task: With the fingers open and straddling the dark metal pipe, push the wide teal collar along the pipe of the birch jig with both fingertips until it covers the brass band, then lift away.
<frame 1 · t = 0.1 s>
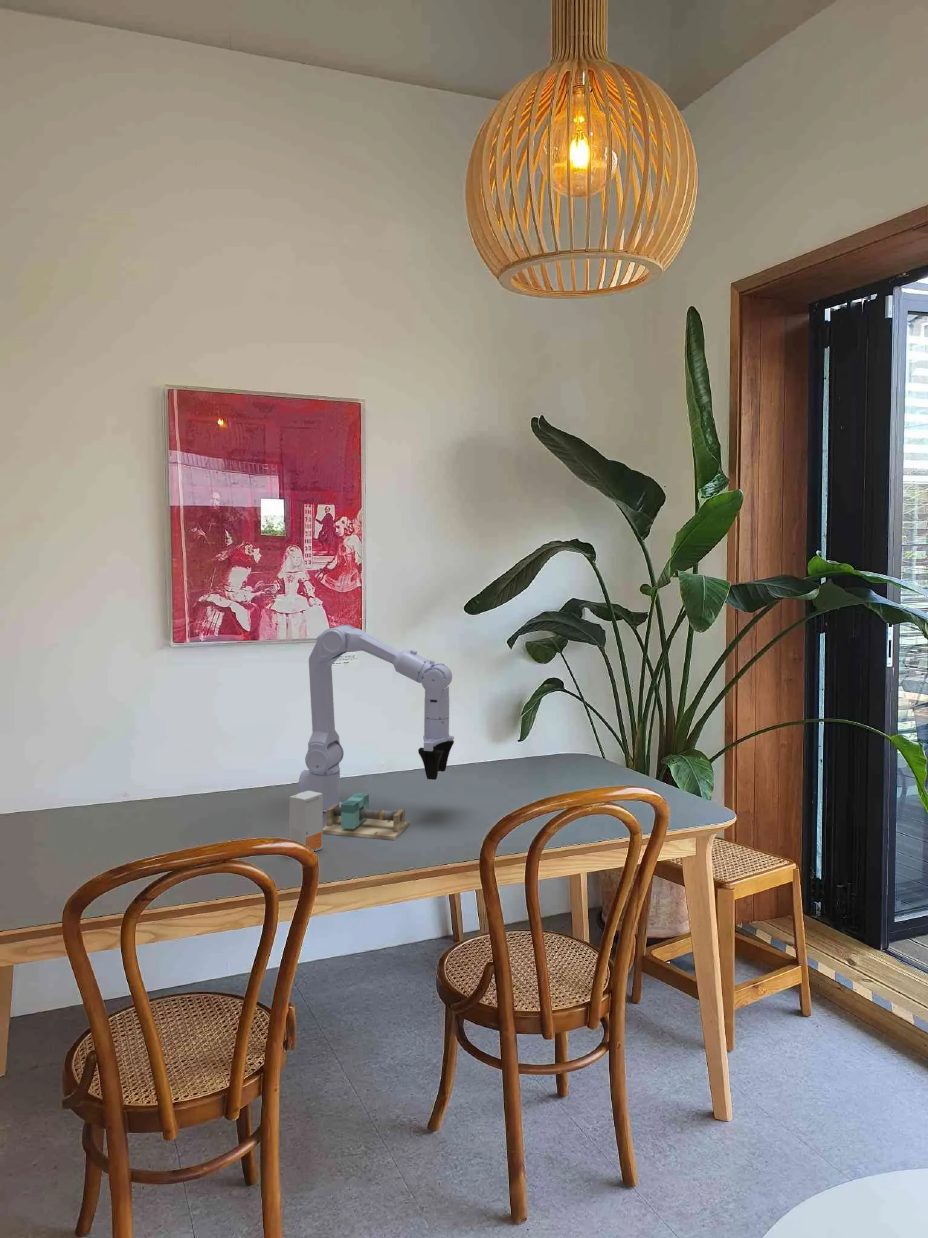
hand: (436, 775, 226), 10 cm above the table, fingers open, 7 cm apart
skincare box: (306, 852, 203), on the table
collar: (355, 810, 218), point 4 cm above the table, slide at 0.0 cm
pipe jig: (365, 829, 218), on the table
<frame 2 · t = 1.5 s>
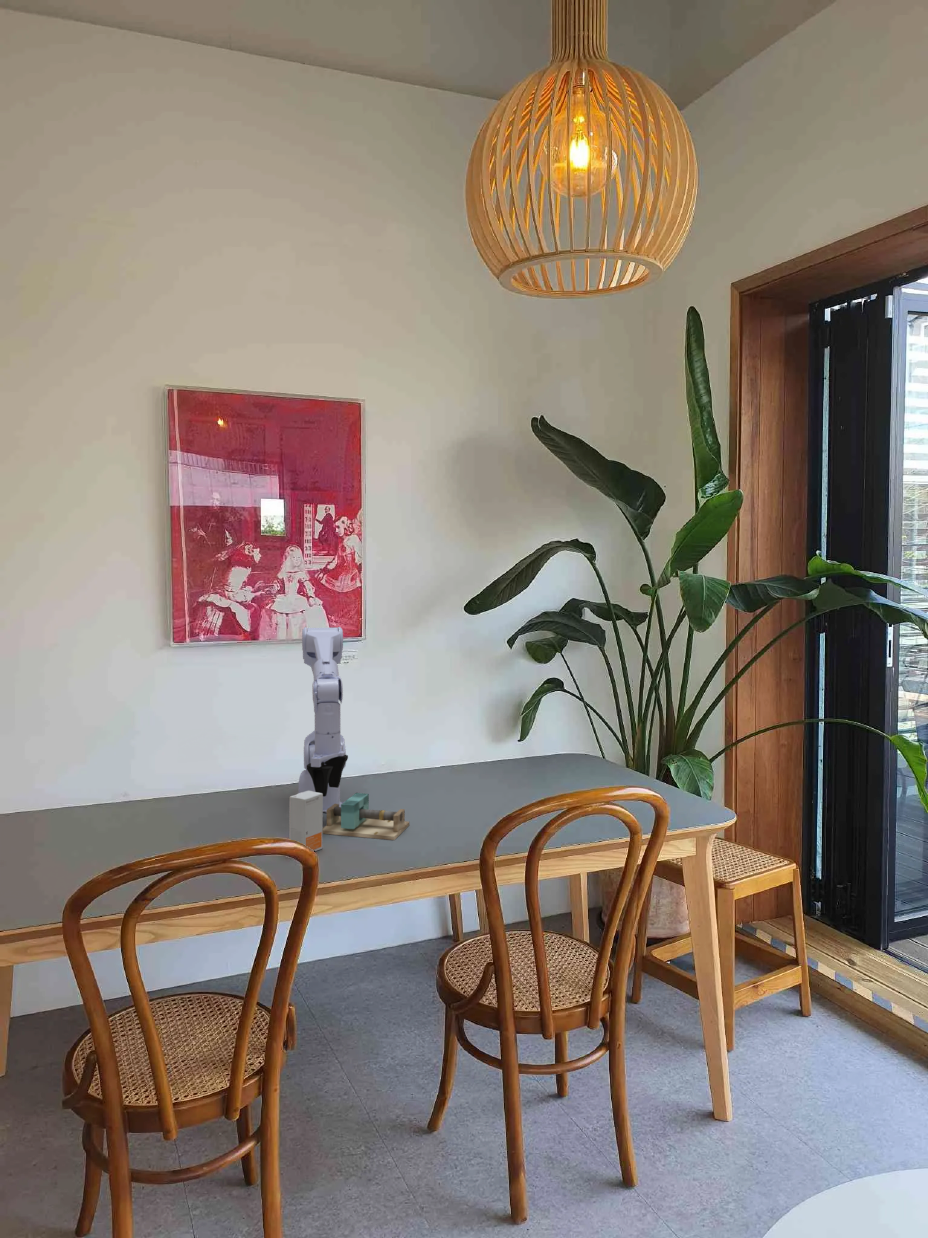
hand: (327, 791, 219), 8 cm above the table, fingers open, 7 cm apart
nothing on the table moved.
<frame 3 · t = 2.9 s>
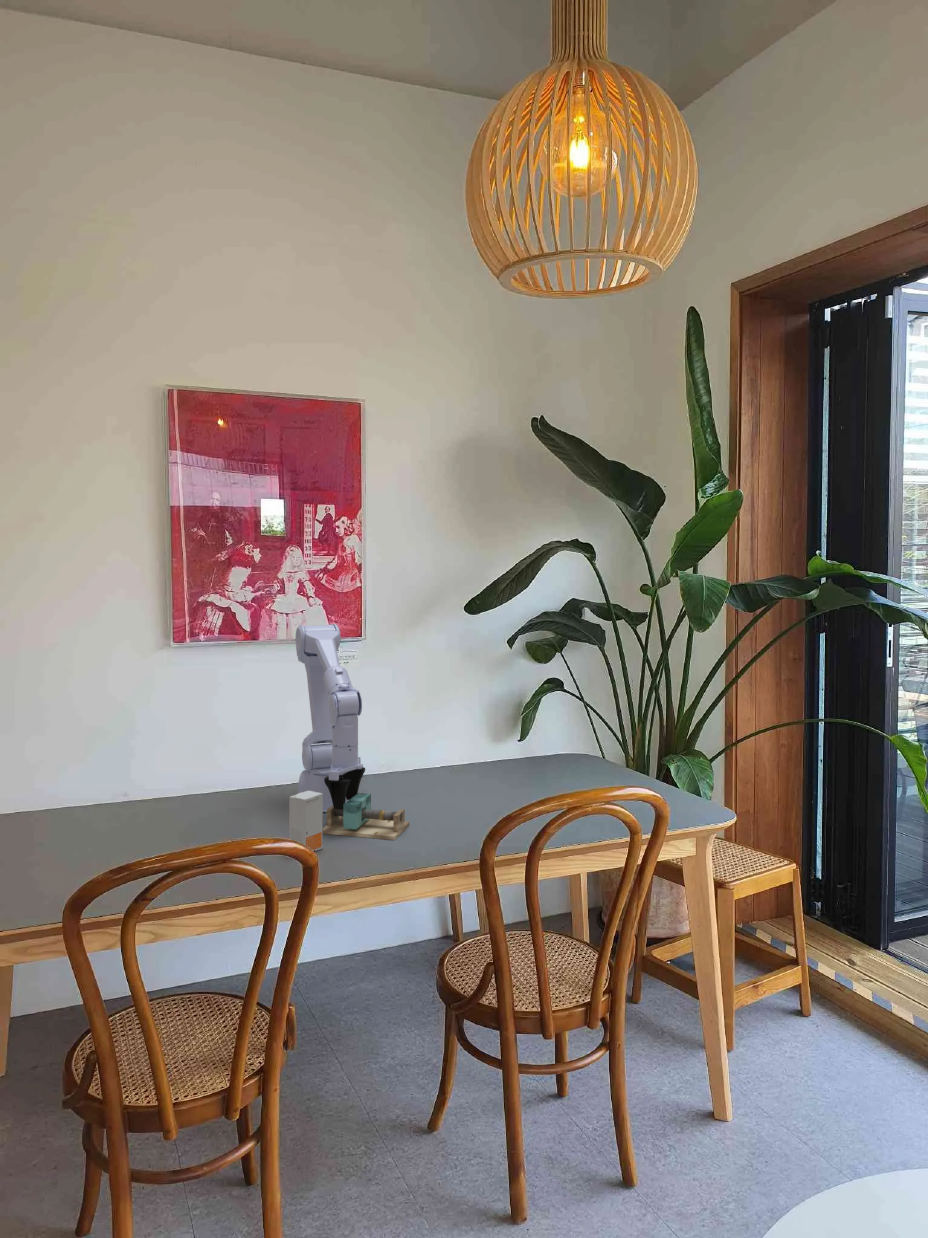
hand: (345, 804, 218), 5 cm above the table, fingers open, 7 cm apart
collar: (357, 810, 218), point 4 cm above the table, slide at 0.6 cm, touching gripper
everything else where it was.
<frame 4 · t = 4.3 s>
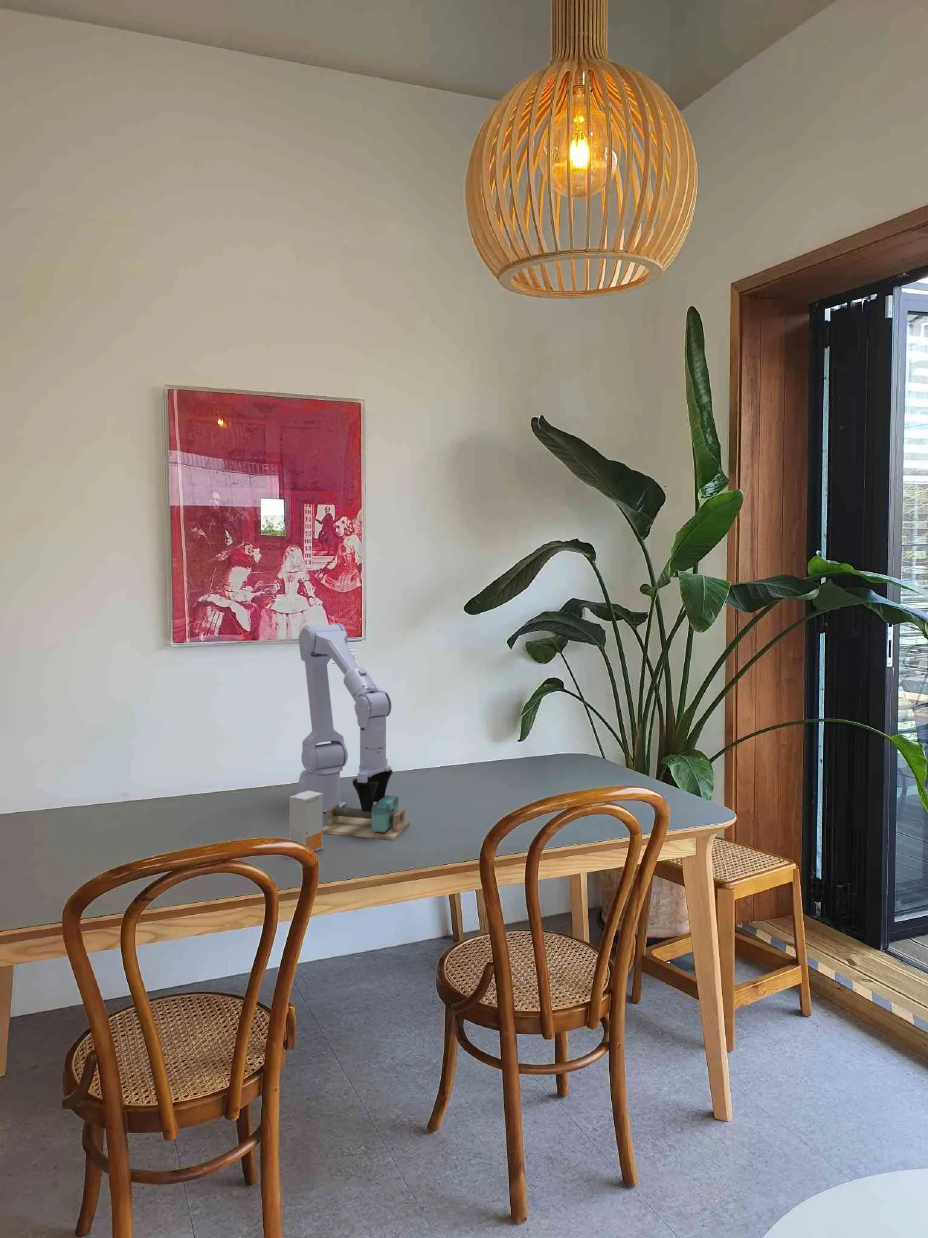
hand: (372, 806, 217), 5 cm above the table
collar: (385, 813, 216), point 4 cm above the table, slide at 7.1 cm, touching gripper
everything else where it was.
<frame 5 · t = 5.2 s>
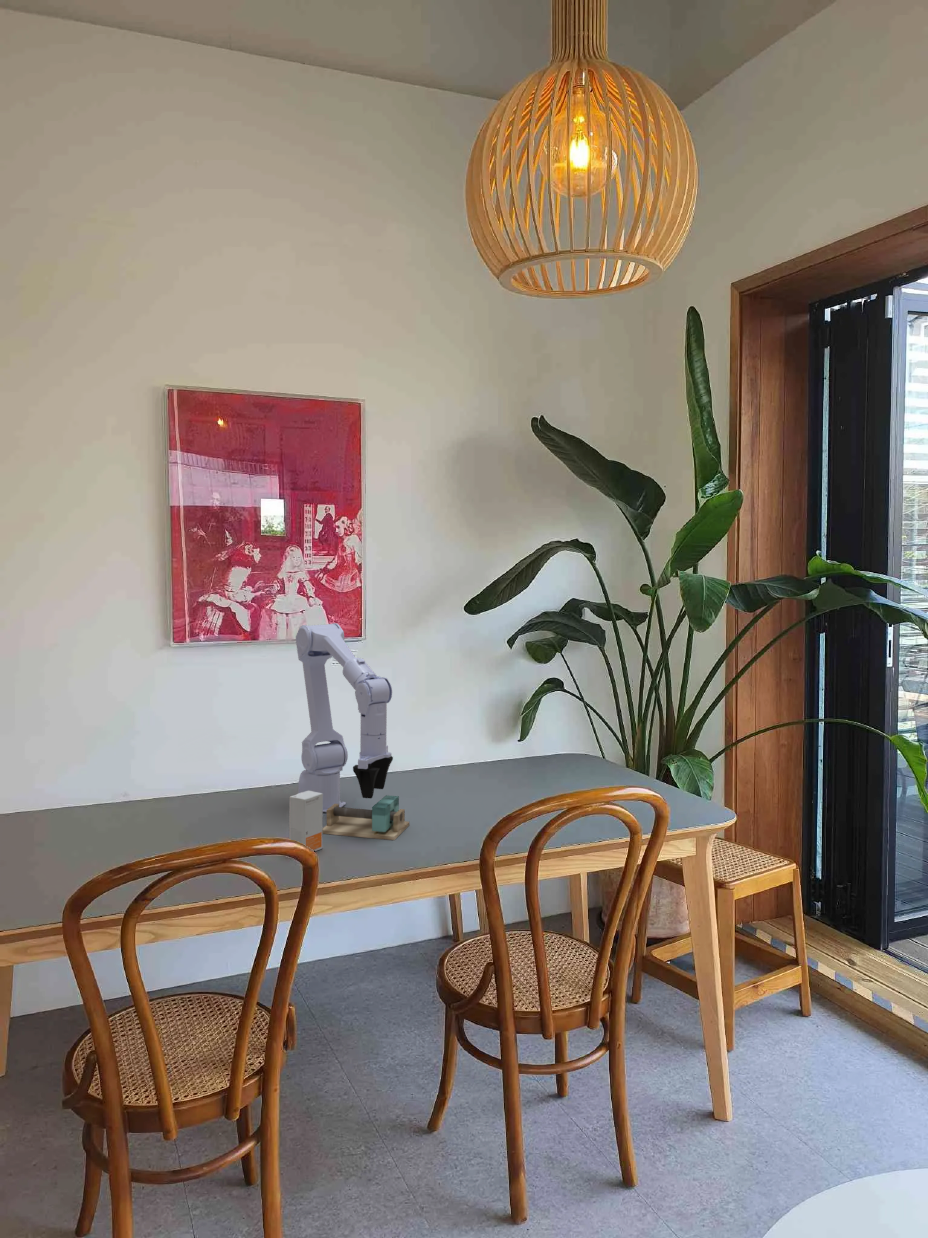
hand: (373, 793, 216), 8 cm above the table, fingers open, 7 cm apart
collar: (385, 813, 216), point 4 cm above the table, slide at 7.2 cm
everything else where it was.
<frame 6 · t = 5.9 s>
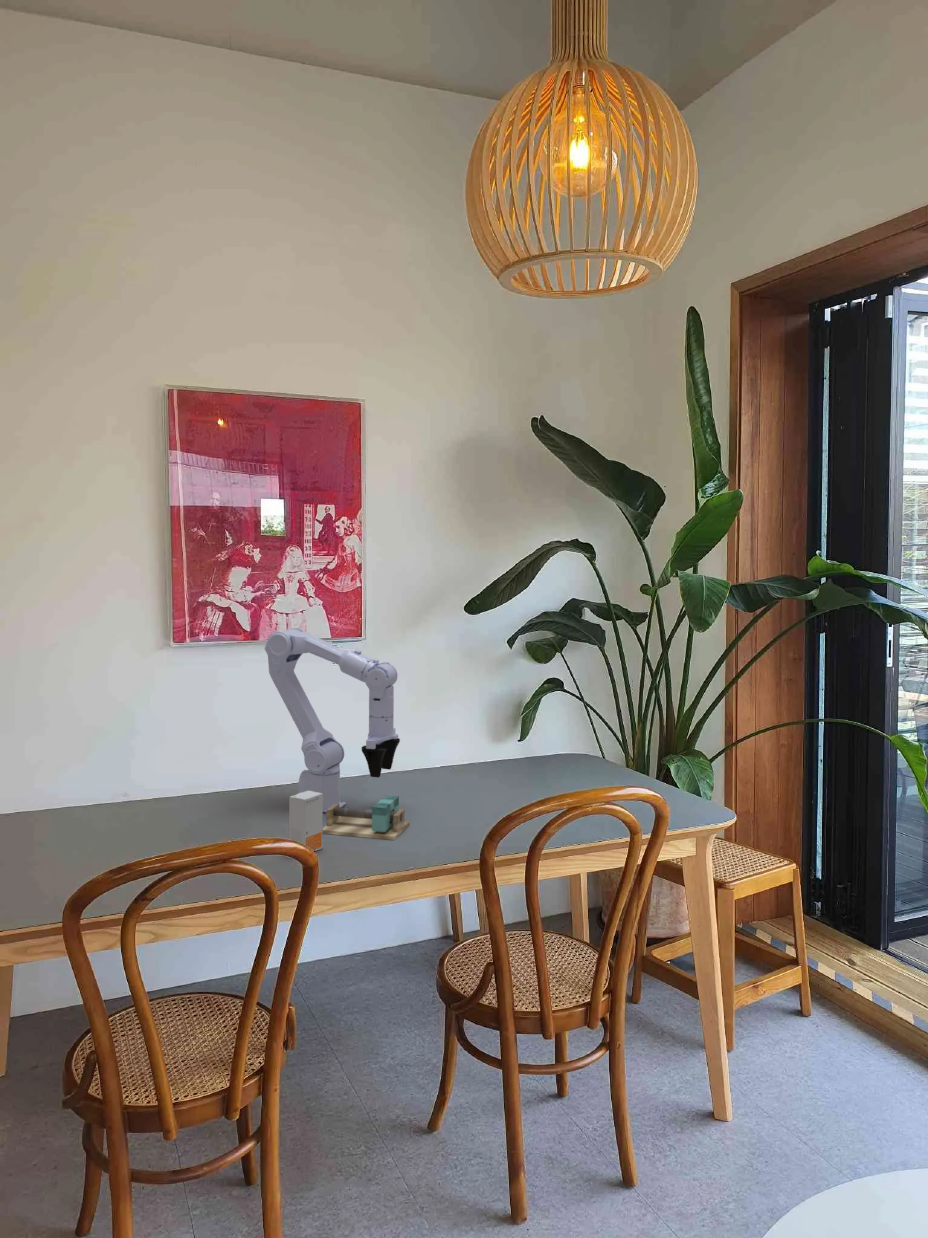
hand: (380, 772, 228), 10 cm above the table, fingers open, 7 cm apart
nothing on the table moved.
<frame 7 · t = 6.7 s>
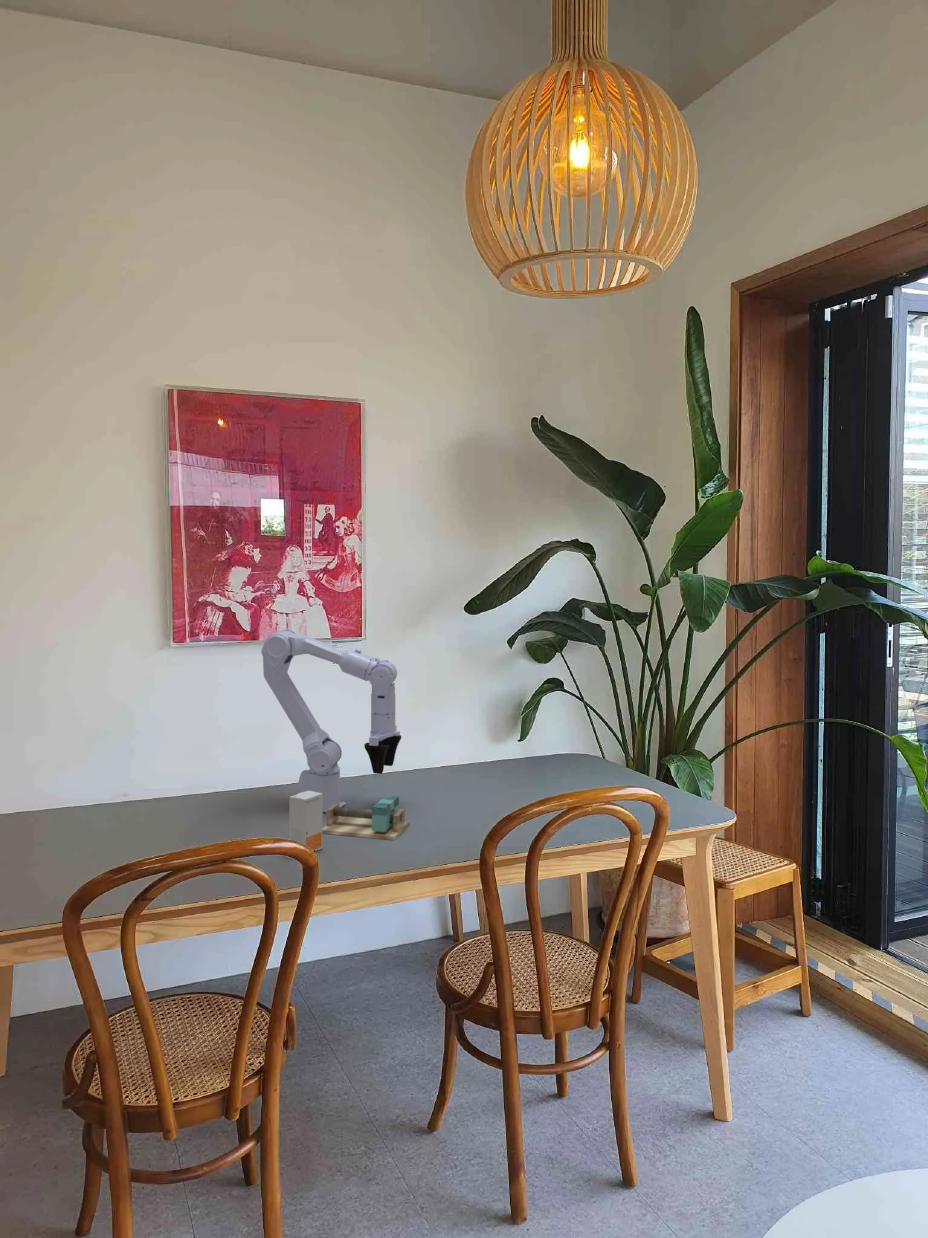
hand: (383, 769, 231), 10 cm above the table, fingers open, 7 cm apart
nothing on the table moved.
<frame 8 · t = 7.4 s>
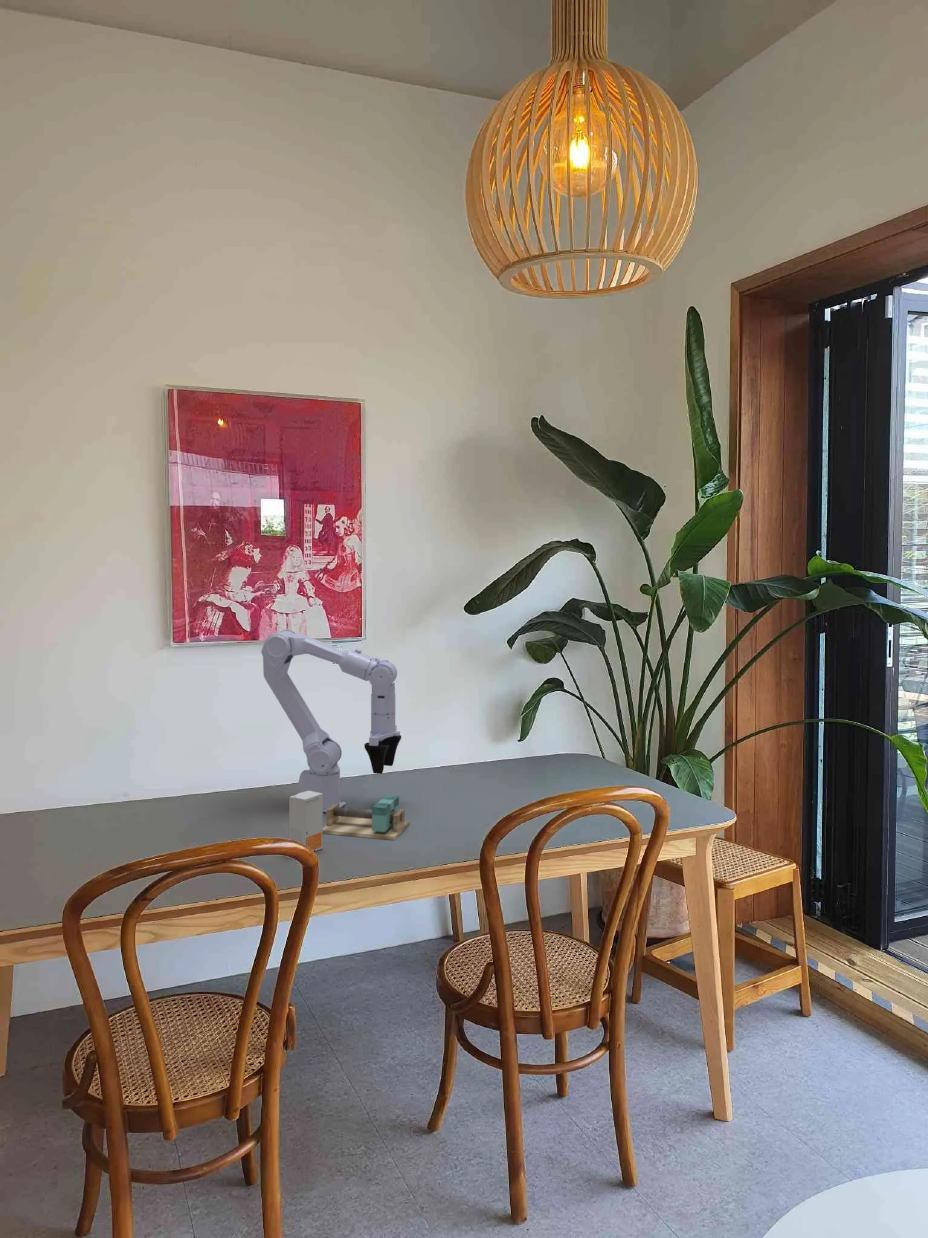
hand: (383, 769, 231), 10 cm above the table, fingers open, 7 cm apart
nothing on the table moved.
at the end: collar slide at 7.2 cm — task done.
